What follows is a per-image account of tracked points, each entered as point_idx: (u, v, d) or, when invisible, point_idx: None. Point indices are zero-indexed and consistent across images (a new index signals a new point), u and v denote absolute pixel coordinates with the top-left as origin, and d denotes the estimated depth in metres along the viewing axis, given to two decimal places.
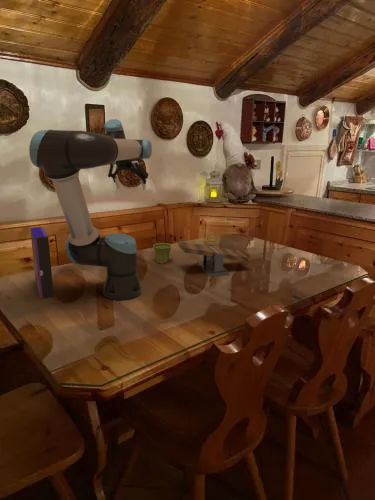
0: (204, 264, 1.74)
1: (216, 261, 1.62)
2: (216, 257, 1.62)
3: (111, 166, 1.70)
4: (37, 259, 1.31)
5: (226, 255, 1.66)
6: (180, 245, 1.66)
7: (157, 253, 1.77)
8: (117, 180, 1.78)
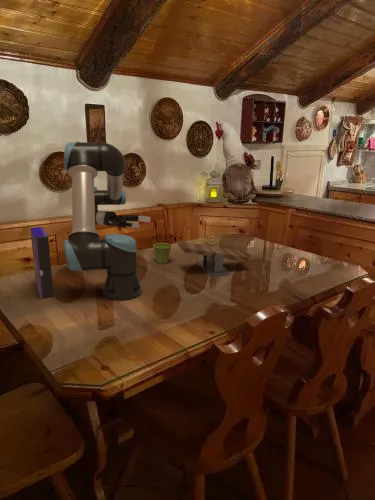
0: (204, 264, 1.74)
1: (216, 261, 1.62)
2: (216, 257, 1.62)
3: (113, 219, 1.76)
4: (37, 259, 1.31)
5: (226, 255, 1.66)
6: (180, 245, 1.66)
7: (157, 253, 1.77)
8: None
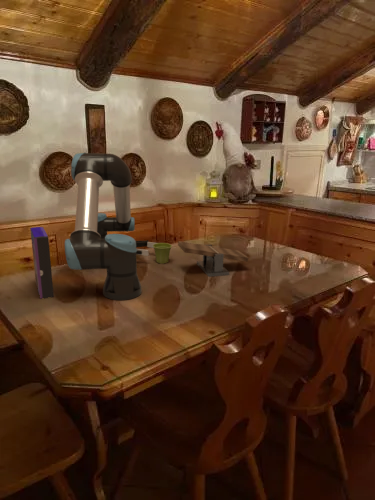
0: (204, 264, 1.74)
1: (216, 261, 1.62)
2: (216, 257, 1.62)
3: None
4: (37, 259, 1.31)
5: (226, 255, 1.66)
6: (180, 245, 1.66)
7: (157, 253, 1.77)
8: None
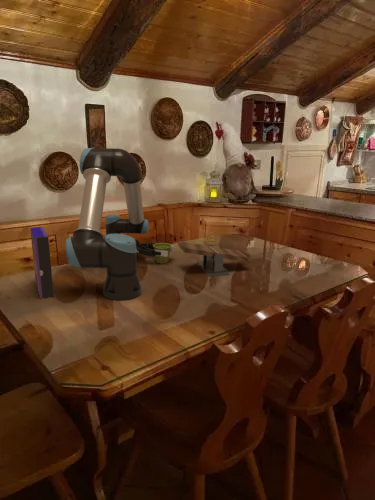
0: (204, 264, 1.74)
1: (216, 261, 1.62)
2: (216, 257, 1.62)
3: (139, 248, 1.77)
4: (37, 259, 1.31)
5: (226, 255, 1.66)
6: (180, 245, 1.66)
7: None
8: None
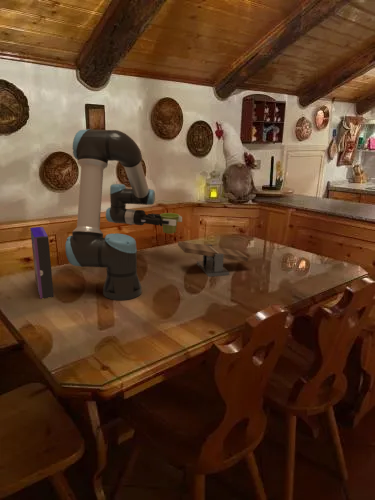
0: (204, 264, 1.74)
1: (216, 261, 1.62)
2: (216, 257, 1.62)
3: (146, 218, 1.70)
4: (37, 259, 1.31)
5: (226, 255, 1.66)
6: (180, 245, 1.66)
7: None
8: None
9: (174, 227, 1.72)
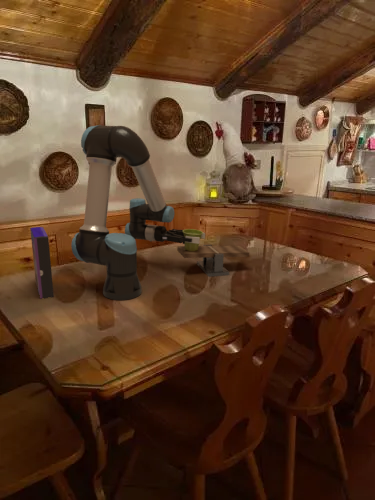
0: (204, 264, 1.74)
1: (216, 261, 1.62)
2: (216, 257, 1.62)
3: (167, 235, 1.62)
4: (37, 259, 1.31)
5: (226, 254, 1.65)
6: (179, 250, 1.67)
7: None
8: None
9: (197, 245, 1.63)
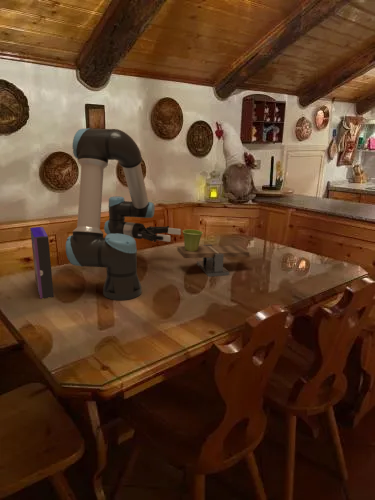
0: (204, 264, 1.74)
1: (216, 261, 1.62)
2: (216, 257, 1.62)
3: (142, 232, 1.65)
4: (37, 259, 1.31)
5: (226, 253, 1.65)
6: (179, 251, 1.67)
7: (187, 240, 1.62)
8: None
9: (197, 245, 1.63)
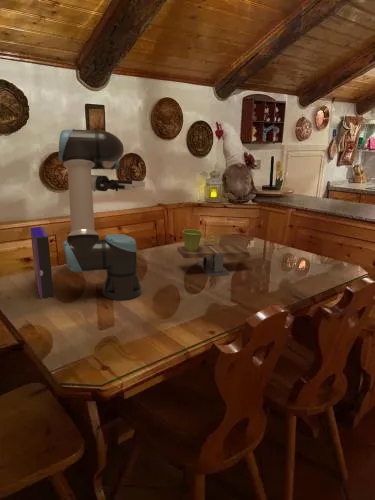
0: (204, 264, 1.74)
1: (216, 261, 1.62)
2: (216, 257, 1.62)
3: (104, 182, 1.67)
4: (37, 259, 1.31)
5: (226, 253, 1.65)
6: (179, 251, 1.67)
7: (187, 240, 1.62)
8: None
9: (197, 245, 1.63)
